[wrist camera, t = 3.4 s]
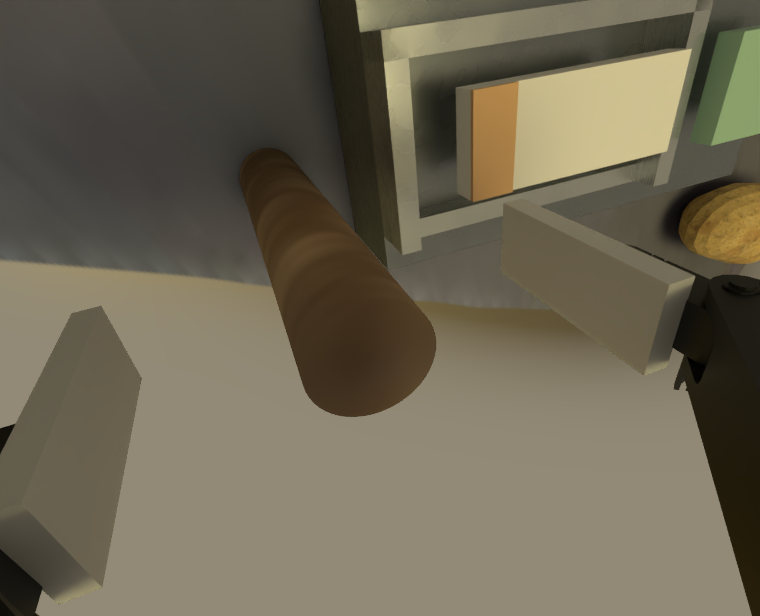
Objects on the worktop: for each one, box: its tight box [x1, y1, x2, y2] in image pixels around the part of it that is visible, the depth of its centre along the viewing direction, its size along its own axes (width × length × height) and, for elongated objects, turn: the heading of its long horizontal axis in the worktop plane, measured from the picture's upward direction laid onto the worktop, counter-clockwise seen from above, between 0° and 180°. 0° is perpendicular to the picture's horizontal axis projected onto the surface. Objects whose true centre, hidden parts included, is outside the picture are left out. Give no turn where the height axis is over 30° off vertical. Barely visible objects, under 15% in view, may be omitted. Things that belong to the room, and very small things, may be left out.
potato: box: [679, 183, 760, 264], centre depth 37 cm, size 7×11×6 cm, turn 83°
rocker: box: [456, 49, 692, 202], centre depth 19 cm, size 11×4×1 cm, turn 97°
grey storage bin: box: [319, 0, 760, 270], centre depth 24 cm, size 25×13×8 cm, turn 97°
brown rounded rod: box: [239, 148, 436, 417], centre depth 18 cm, size 3×3×18 cm
